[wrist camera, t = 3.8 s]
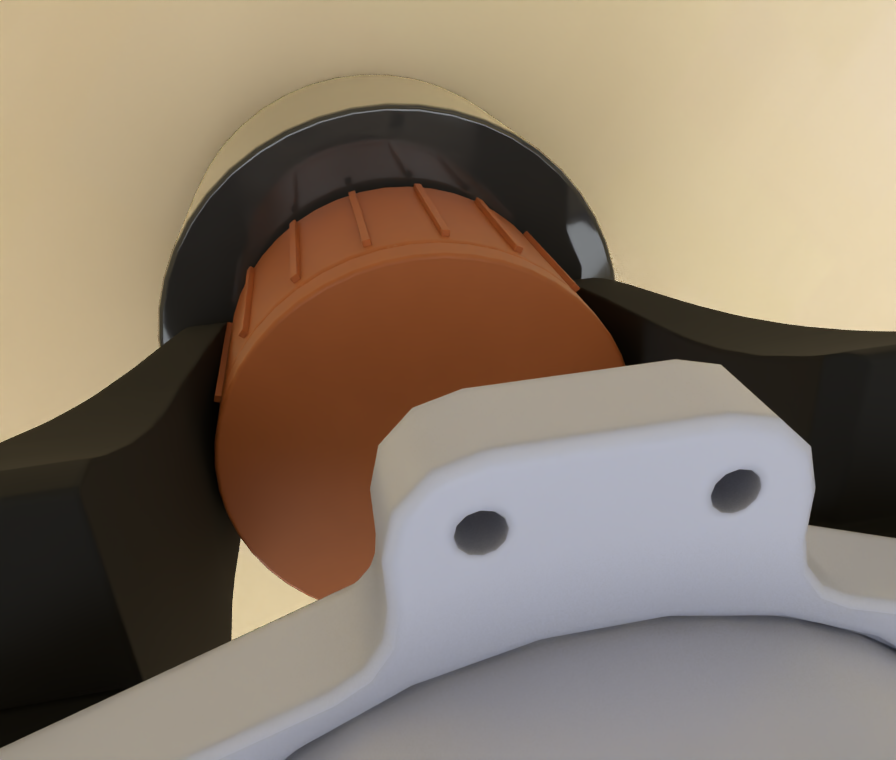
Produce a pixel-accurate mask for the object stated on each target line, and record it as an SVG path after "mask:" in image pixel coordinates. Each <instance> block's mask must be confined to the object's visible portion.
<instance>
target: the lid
mask: <svg viewBox="0 0 896 760" xmlns="http://www.w3.org/2000/svg"><path fill="white" fill-rule="evenodd" d="M348 194H349V196H347V197H344V198H341V199H338V200H335V201H333V202H331V203H329V204H327V205H325V206H323V207H321V208H319V209H316V210H315V211H313V212H312V213H310V214H308V215H307V216H305V217H304V218H302V219H301V220H299V221H298V222H297V221H296V220H293V221H292V222H290V223H289V229H288V230H287V231H286V232H284V233H283V234H282V235H281V236H280V237H279V238H277V240H276V241H275V242H274V243H273V244H272V245H271V246H270V247H269V249H268V250H267V251H266V252H265V253H264V254H263V255H262V257H261V258H260V260H259V261H258V263H257V264H256V266H255V267H254V268H253V267H251V266H250V267H249V268H248V270H247V274H246V282H245V285H244V288H243V290H242V292H241V294H240V297H239V300H238V303H237V307H236V310H235V313H234V317H233V323H230V322H227V326H226V332H225V338H224V344H223V350H222V355H221V361H220V367H219V373H218V379H217V385H216V391H215V396H214V402H218V403H220V408H219V414H218V421H217V427H216V434H215V441H214V451H215V471H216V477H217V483H218V488H219V492H220V495H221V498H222V501H223V504H224V507H225V510H226V512H227V514H228V516H229V518H230V520H231V522H232V524H233V526H234V528H235V529H236V531H237V533H238V535H239V536H240V537H241V539H242V540H243V541H244V543H245V544H246V545H247V547H248V548H249V549H250V551H251V552H252V553H253V554H254V555H255V556H256V557H257V558H258V559H259V560H260V561H261V562H262V563H263V564H264V565H265V566H266V567H267V568H268V569H269V570H270V571H271V572H272V573H274V574H275V575H276V576H278V577H279V578H280V579H282V580H283V581H284V582H286V583H287V584H289V585H290V586H292V587H294V588H296V589H297V590H299V591H301V592H303V593H304V594H306V595H308V596H310V597H313V598H315V599H318V600H320V599H322V598H324V597H326V596H328V595H330V594H332V593H335V592H337V591H339V590H341V589H343V588H345V587H348V586H350V585H352V584H354V583H355V582H357V581H358V580H359V579H360V578H361V577H362V575H363V574H364V573H365V572H366V571H367V570H368V569H369V567H370V565H371V563H372V560H373V557H374V554H375V537H376V532H375V524H374V516H373V509H372V501H371V493H370V486H371V481H372V476H373V470H374V465H375V460H376V455H377V449H378V445H379V444H380V443H381V442H382V441H383V439H384V438H385V437H386V436H387V435H388V434H389V433H390V432H391V431H392V430H393V428H394V427H395V426H396V425H397V424H398V423H399V422H400V421H401V420H402V419H403V417H404V416H405V415H406V414H407V413H408V412H409V411H410V410H411V409H412V408H413V407H416V406H418V405H421V404H424V403H426V402H429V401H431V400H434V399H437V398H439V397H442V396H444V395H447V394H450V393H452V392H455V391H457V390H460V389H464V388H471V387H478V386H485V385H493V384H500V383H507V382H514V381H521V380H529V379H536V378H543V377H550V376H558V375H565V374H572V373H579V372H587V371H594V370H601V369H608V368H616V367H623V366H625V363H624V360H623V357H622V355H621V353H620V351H619V349H618V347H617V345H616V343H615V341H614V340H613V338H612V336H611V334H610V333H609V331H608V330H607V329H606V327H605V326H604V325H603V323H602V322H601V321H600V319H599V318H598V317H597V315H596V314H595V313H594V312H593V311H592V310H591V309H590V308H589V306H588V305H587V304H586V303H585V302H584V301H583V300H582V299H581V298H580V296H579V295H578V294H577V293H576V292H577V291H578V290H579V289H580V287H579V286H578V285H577V284H576V283H575V282H574V281H573V280H572V279H571V278H570V277H569V276H568V275H567V273H566V272H565V271H564V270H563V269H562V268H561V267H560V266H559V265H558V264H557V263H556V262H555V261H554V259H553V258H552V257H551V256H550V255H549V254H548V253H547V252H546V251H545V250H544V249H543V248H542V247H541V245H540V244H539V243H538V242H537V241H536V240H535V239H534V238H533V237H532V236H531V235H530V234H529V233H528V232H527V231H526V232H525V233H524V234H522V233H521V232H520V231H519V230H518V229H517V228H516V227H515V226H514V225H513V224H511V223H510V222H509V221H507V220H506V219H505V218H503V217H502V216H500V215H499V214H498V213H496V212H495V211H493V210H491V209H490V208H489V207H488V206H487V205H486V204H485V203H484V201H483V200H482V199H479V198H476V200H475V201H474V200H471V199H468V198H466V197H463V196H460V195H457V194H455V193H450V192H446V191H441V190H437V189H432V188H423V187H422V185H421V184H414V187H389V188H380V189H375V190H369V191H364V192H359V193H356V192H355V191H351V192H348Z"/></svg>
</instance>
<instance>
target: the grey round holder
mask: <svg viewBox="0 0 896 760" xmlns="http://www.w3.org/2000/svg"><path fill="white" fill-rule="evenodd" d="M414 184H421V185H422V187H423V188H432V189H437V190H441V191H446V192H450V193H455V194H457V195H460V196H463V197H466V198H468V199H471V200H474V201H475V200H476V198H479V199H482V200H483V201H484V203H485V204H486V205H487V206H488V207H489V208H490V209H491V210H493V211H495V212H496V213H498V214H499V215H500V216H502V217H503V218H505V219H506V220H507V221H509V222H510V223H511V224H513V225H514V226H515V227H516V228H517V229H518V230H519V231H520V232H521V233H522V234H524V233H525V232H526V231H527V232H528V233H529V234H530V235H531V236H532V237H533V238H534V239H535V240H536V241H537V242H538V243H539V244H540V245H541V247H542V248H543V249H544V250H545V251H546V252H547V253H548V254H549V255H550V256H551V257H552V258H553V259H554V261H555V262H556V263H557V264H558V265H559V266H560V267H561V268H562V269H563V270H564V271H565V272H566V273H567V275H568V276H569V277H570V278H571V279H572V280H578V279H586V278H604V279H609V280H614V281H615V275H614V268H613V264H612V260H611V257H610V253H609V249H608V245H607V242H606V239H605V237H604V235H603V232H602V230H601V228H600V225H599V223H598V221H597V218H596V216H595V215H594V213H593V211H592V210H591V208H590V206H589V205H588V203H587V202H586V200H585V198H584V197H583V195H582V193H581V192H580V191H579V189H578V188H577V187H576V186H575V185H574V183H573V182H572V181H571V180H570V179H569V177H568V176H567V175H566V174H565V173H564V171H563V170H562V169H561V168H560V167H559V166H557V165H556V164H555V163H554V162H553V161H552V160H551V159H550V158H548V157H547V156H546V155H545V154H544V153H543V152H542V151H541V150H539V149H538V148H537V147H535V146H534V145H532V144H531V143H530V142H528V141H527V140H525V139H524V138H522V137H521V136H519V135H518V134H517V133H515V132H514V131H512V130H511V129H509V128H508V127H507V126H505V125H504V124H502V123H501V122H499V121H498V120H497V119H495V118H494V117H492V116H491V115H489V114H488V113H486V112H485V111H483V110H482V109H480V108H479V107H477V106H476V105H474V104H473V103H471V102H470V101H468V100H467V99H465V98H463V97H461V96H459V95H457V94H455V93H453V92H451V91H448V90H446V89H444V88H442V87H439V86H436V85H433V84H430V83H426V82H423V81H420V80H417V79H411V78H405V77H399V76H392V75H355V76H347V77H338V78H334V79H330V80H326V81H322V82H318V83H314V84H311V85H308V86H306V87H303V88H301V89H299V90H296V91H294V92H291V93H289V94H287V95H285V96H283V97H281V98H280V99H278V100H276V101H275V102H273V103H271V104H270V105H268V106H266V107H264V108H263V109H261V110H260V111H259V112H258V113H256V114H255V115H254V116H253V117H252V118H250V119H249V120H248V121H247V122H245V123H244V124H243V125H242V126H241V127H240V128H239V129H238V130H237V131H236V132H235V133H234V134H233V135H232V136H231V137H230V138H229V140H228V141H227V142H226V143H225V144H224V145H223V146H222V148H221V149H220V151H219V152H218V154H217V155H216V156H215V158H214V159H213V161H212V162H211V164H210V165H209V167H208V169H207V171H206V173H205V175H204V177H203V179H202V181H201V183H200V185H199V187H198V189H197V191H196V193H195V196H194V198H193V201H192V203H191V206H190V208H189V210H188V213H187V215H186V218H185V220H184V223H183V225H182V227H181V230H180V232H179V235H178V237H177V240H176V242H175V245H174V247H173V250H172V253H171V256H170V259H169V262H168V265H167V268H166V271H165V274H164V277H163V283H162V289H161V295H160V301H159V307H158V341H159V348H160V347H161V346H162V345H164V344H165V343H166V342H167V341H169V340H170V339H171V338H172V337H174V336H175V335H176V334H178V333H179V332H181V331H182V330H184V329H186V328H188V327H192V326H200V325H208V324H217V323H225V322H230V323H233V317H234V313H235V310H236V307H237V303H238V300H239V297H240V294H241V292H242V290H243V288H244V285H245V282H246V274H247V270H248V268H249V267H250V266H251V267H253V268H254V267H255V266H256V264H257V263H258V261H259V260H260V258H261V257H262V255H263V254H264V253H265V252H266V251H267V250H268V249H269V247H270V246H271V245H272V244H273V243H274V242H275V241H276V240H277V238H279V237H280V236H281V235H282V234H283V233H284V232H286V231H287V230H288V229H289V223H290V222H292V221H293V220H296V221H297V222H298V221H299V220H301V219H302V218H304V217H305V216H307V215H308V214H310V213H312V212H313V211H315V210H316V209H319V208H321V207H323V206H325V205H327V204H329V203H331V202H333V201H335V200H338V199H341V198H344V197H347V196H349V194H348V192H351V191H355V192H356V193H359V192H364V191H369V190H375V189H380V188H389V187H414Z"/></svg>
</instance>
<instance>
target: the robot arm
mask: <svg viewBox="0 0 896 760" xmlns="http://www.w3.org/2000/svg"><path fill="white" fill-rule="evenodd" d="M573 281H574V282H575V283H576V284H577V285H578V286H579V287H580V289H579V290H578V291H577V292H576V293H577V294H578V295H579V296H580V298H581V299H582V300H583V301H584V302H585V303H586V304H587V305H588V306H589V308H590V309H591V310H592V311H593V312H594V313H595V314H596V315H597V317H598V318H599V319H600V321H601V322H602V323H603V325H604V326H605V327H606V329H607V330H608V331H609V333H610V334H611V336H612V338H613V340H614V341H615V343H616V345H617V347H618V349H619V351H620V353H621V355H622V357H623V360H624V363H625V366H623V367H616V368H608V369H601V370H594V371H587V372H579V373H572V374H565V375H558V376H550V377H543V378H536V379H529V380H521V381H514V382H507V383H500V384H493V385H485V386H478V387H471V388H464V389H460V390H457V391H455V392H452V393H450V394H447V395H444V396H442V397H439V398H437V399H434V400H431V401H429V402H426V403H424V404H421V405H418V406H416V407H413V408H412V409H411V410H410V411H409V412H408V413H407V414H406V415H405V416H404V417H403V419H402V420H401V421H400V422H399V423H398V424H397V425H396V426H395V427H394V428H393V430H392V431H391V432H390V433H389V434H388V435H387V436H386V437H385V438H384V439H383V441H382V442H381V443H380V444H379V445H378V449H377V455H376V460H375V465H374V470H373V476H372V481H371V486H370V493H371V501H372V509H373V516H374V524H375V532H376V537H375V554H374V557H373V560H372V563H371V565H370V567H369V569H368V570H367V571H366V572H365V573H364V574H363V575H362V577H361V578H360V579H359V580H358V581H357V582H355V583H354V584H352V585H350V586H348V587H345V588H343V589H341V590H339V591H337V592H335V593H332V594H330V595H328V596H326V597H324V598H322V599H320V600H317V601H315V602H313V603H311V604H309V605H307V606H305V607H302V608H300V609H298V610H296V611H294V612H292V613H290V614H287V615H285V616H283V617H281V618H279V619H277V620H275V621H272V622H270V623H268V624H266V625H264V626H262V627H260V628H257V629H255V630H253V631H251V632H249V633H247V634H244V635H242V636H240V637H238V638H236V639H234V640H232V641H231V630H232V599H233V588H234V578H235V571H236V565H237V558H238V552H239V545H240V539H241V537H240V536H239V535H238V533H237V531H236V529H235V528H234V526H233V524H232V522H231V520H230V518H229V516H228V514H227V512H226V510H225V507H224V504H223V501H222V498H221V495H220V492H219V488H218V483H217V477H216V471H215V451H214V441H215V434H216V427H217V421H218V414H219V408H220V403H218V402H214V396H215V391H216V385H217V379H218V373H219V367H220V361H221V355H222V350H223V344H224V338H225V332H226V326H227V322H225V323H217V324H208V325H200V326H192V327H188V328H186V329H184V330H182V331H181V332H179V333H178V334H176V335H175V336H174V337H172V338H171V339H170V340H169V341H167V342H166V343H165V344H164V345H162V346H161V347H160V348H159V349H157V350H156V351H155V352H154V353H152V354H151V355H150V356H148V357H147V358H146V359H145V360H143V361H142V362H141V363H140V364H138V365H137V366H136V367H135V368H133V369H132V370H130V371H129V372H128V373H126V374H125V375H123V376H122V377H120V378H119V379H118V380H116V381H115V382H113V383H112V384H111V385H109V386H108V387H106V388H105V389H103V390H102V391H101V392H99V393H98V394H96V395H95V396H93V397H91V398H90V399H88V400H87V401H85V402H83V403H81V404H80V405H78V406H76V407H75V408H73V409H71V410H69V411H67V412H65V413H64V414H62V415H60V416H58V417H56V418H54V419H52V420H50V421H48V422H46V423H44V424H42V425H40V426H38V427H36V428H33V429H31V430H29V431H26V432H24V433H22V434H19V435H17V436H15V437H12V438H10V439H8V440H6V441H3V442H1V443H0V760H896V332H883V331H854V330H839V329H827V328H816V327H805V326H797V325H789V324H782V323H776V322H770V321H764V320H758V319H753V318H747V317H742V316H738V315H733V314H729V313H725V312H721V311H717V310H713V309H709V308H705V307H701V306H697V305H694V304H690V303H687V302H683V301H680V300H677V299H673V298H670V297H667V296H664V295H660V294H657V293H654V292H651V291H648V290H645V289H641V288H638V287H635V286H632V285H628V284H625V283H621V282H617V281H614V280H609V279H604V278H586V279H578V280H573Z"/></svg>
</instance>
